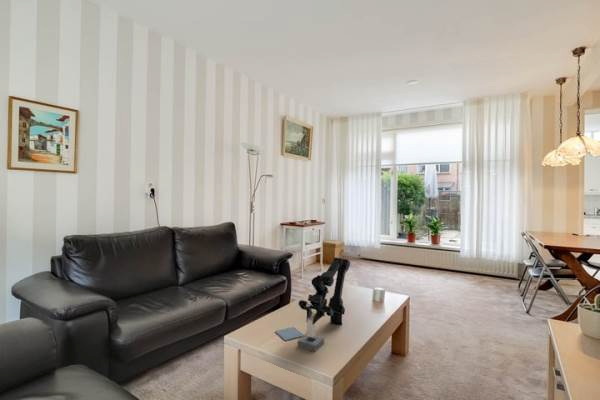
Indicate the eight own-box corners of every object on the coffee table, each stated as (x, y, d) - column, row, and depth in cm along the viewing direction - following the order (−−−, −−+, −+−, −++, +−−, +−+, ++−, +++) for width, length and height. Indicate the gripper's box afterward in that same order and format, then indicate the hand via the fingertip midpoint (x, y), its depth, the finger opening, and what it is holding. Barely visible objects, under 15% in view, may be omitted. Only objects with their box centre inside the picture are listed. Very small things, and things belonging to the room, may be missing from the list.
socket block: (307, 338, 161) (307, 333, 161) (323, 343, 156) (323, 338, 156) (297, 346, 153) (297, 340, 153) (314, 352, 148) (315, 346, 148)
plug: (309, 333, 157) (310, 316, 156) (314, 335, 155) (315, 317, 155) (306, 335, 154) (307, 318, 154) (312, 337, 152) (312, 319, 152)
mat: (293, 327, 174) (293, 326, 174) (304, 336, 164) (304, 335, 164) (275, 332, 168) (275, 331, 168) (285, 341, 158) (285, 340, 158)
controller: (327, 311, 202) (328, 296, 202) (317, 316, 192) (317, 301, 192) (322, 309, 204) (322, 294, 204) (311, 314, 195) (312, 299, 194)
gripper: (300, 285, 162) (288, 311, 153) (331, 291, 153) (321, 320, 144) (307, 295, 169) (296, 321, 160) (337, 302, 160) (328, 330, 150)
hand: (309, 323), depth 153 cm, fingers closed on plug, 3 cm apart
